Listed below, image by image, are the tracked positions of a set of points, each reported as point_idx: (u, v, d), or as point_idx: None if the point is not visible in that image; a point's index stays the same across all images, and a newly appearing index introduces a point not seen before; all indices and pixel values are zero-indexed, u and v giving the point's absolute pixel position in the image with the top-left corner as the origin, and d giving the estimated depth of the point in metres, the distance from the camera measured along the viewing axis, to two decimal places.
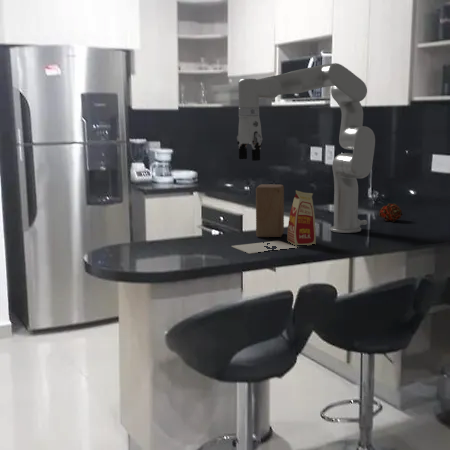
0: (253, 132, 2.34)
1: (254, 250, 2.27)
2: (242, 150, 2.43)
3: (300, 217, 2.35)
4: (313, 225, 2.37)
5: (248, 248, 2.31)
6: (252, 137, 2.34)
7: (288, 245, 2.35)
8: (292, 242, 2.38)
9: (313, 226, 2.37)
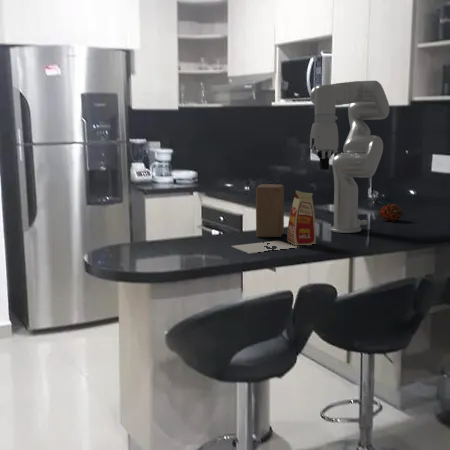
0: None
1: (254, 250, 2.27)
2: None
3: (300, 217, 2.35)
4: (313, 225, 2.37)
5: (248, 248, 2.31)
6: None
7: (288, 245, 2.35)
8: (292, 242, 2.38)
9: (313, 226, 2.37)
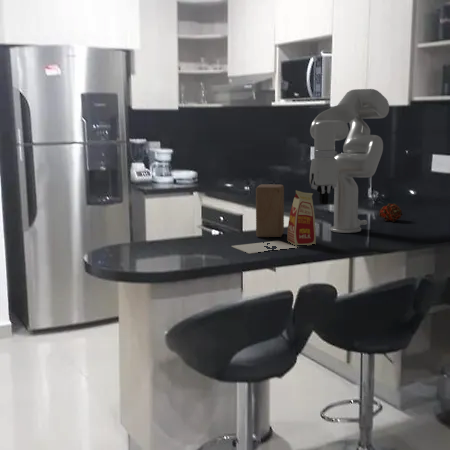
0: None
1: (254, 250, 2.27)
2: None
3: (300, 217, 2.35)
4: (313, 225, 2.37)
5: (248, 248, 2.31)
6: None
7: (288, 245, 2.35)
8: (292, 242, 2.38)
9: (313, 226, 2.37)
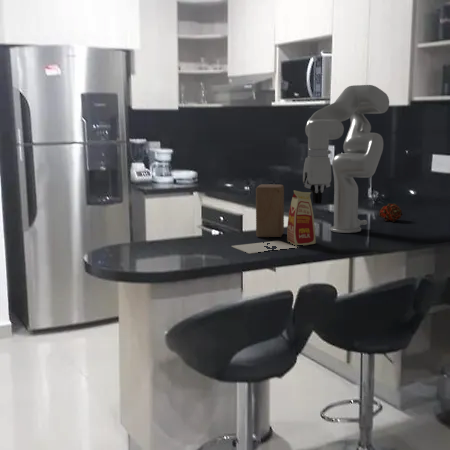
0: None
1: (254, 250, 2.27)
2: None
3: (299, 217, 2.35)
4: (312, 224, 2.36)
5: (248, 248, 2.31)
6: None
7: (288, 245, 2.35)
8: (292, 242, 2.38)
9: (312, 225, 2.36)
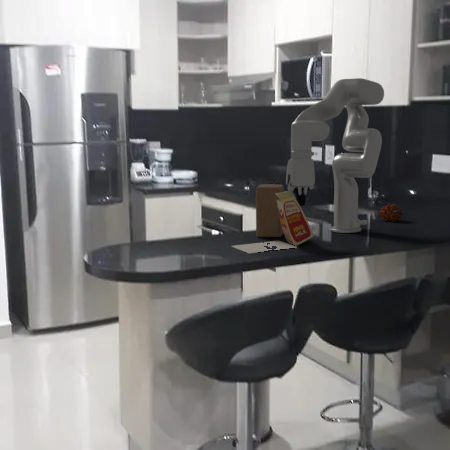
0: None
1: (254, 250, 2.27)
2: None
3: (289, 217, 2.34)
4: (304, 219, 2.35)
5: (248, 248, 2.31)
6: None
7: (288, 245, 2.35)
8: (291, 242, 2.38)
9: (305, 220, 2.35)
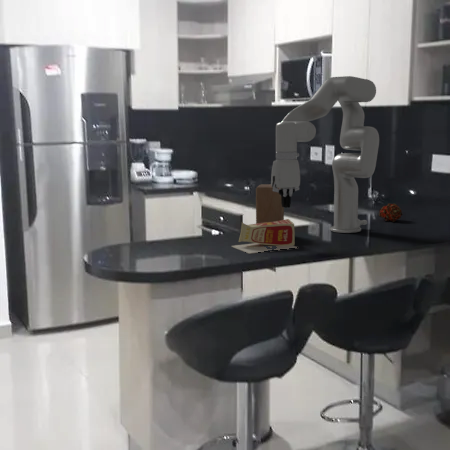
0: None
1: (254, 250, 2.27)
2: None
3: (266, 240, 2.33)
4: (275, 226, 2.33)
5: (248, 248, 2.31)
6: None
7: (288, 245, 2.35)
8: None
9: (276, 226, 2.33)
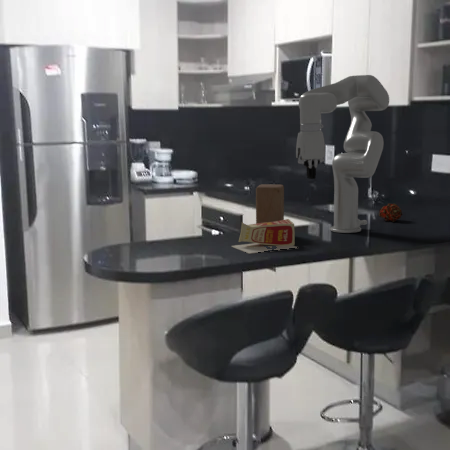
0: None
1: (254, 250, 2.27)
2: None
3: (266, 240, 2.33)
4: (275, 226, 2.33)
5: (248, 248, 2.31)
6: None
7: (288, 245, 2.35)
8: None
9: (276, 226, 2.33)
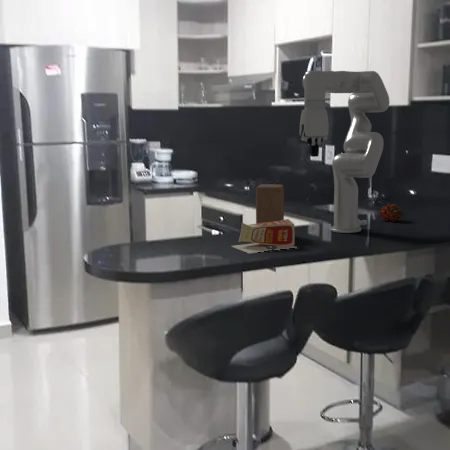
0: None
1: (254, 250, 2.27)
2: None
3: (266, 240, 2.33)
4: (275, 226, 2.33)
5: (248, 248, 2.31)
6: None
7: (288, 245, 2.35)
8: None
9: (276, 226, 2.33)
